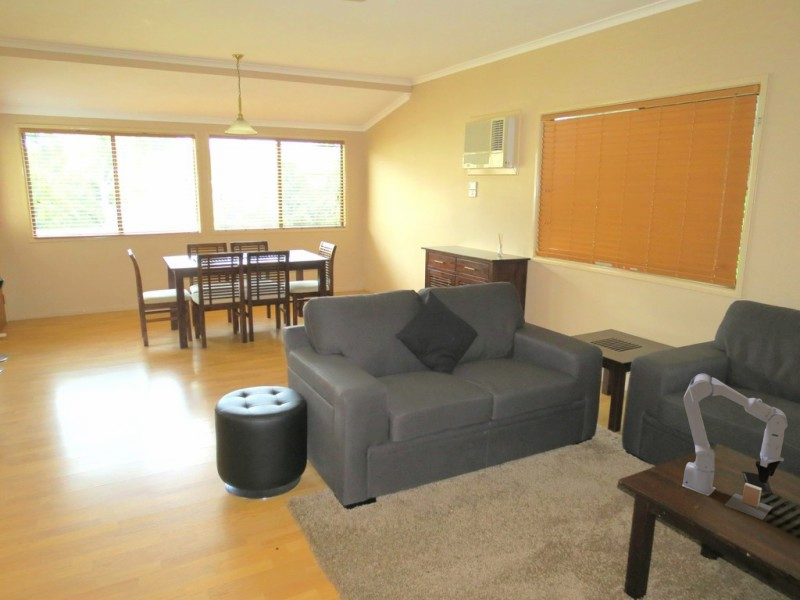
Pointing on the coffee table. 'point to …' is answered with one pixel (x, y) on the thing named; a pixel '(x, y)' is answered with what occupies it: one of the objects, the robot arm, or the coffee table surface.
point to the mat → (748, 507)
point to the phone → (756, 481)
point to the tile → (751, 495)
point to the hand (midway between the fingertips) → (765, 478)
